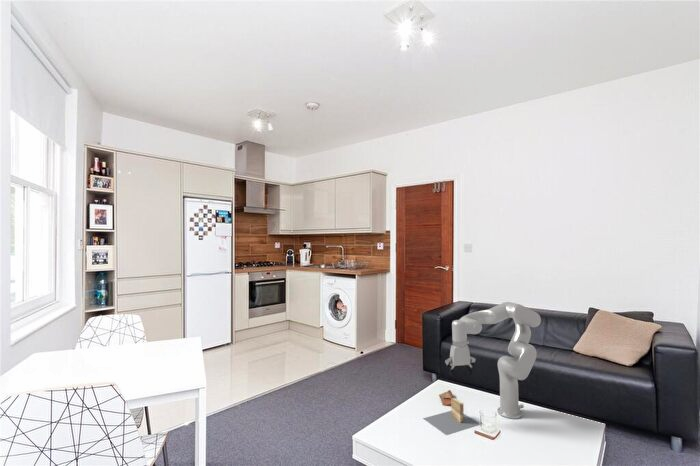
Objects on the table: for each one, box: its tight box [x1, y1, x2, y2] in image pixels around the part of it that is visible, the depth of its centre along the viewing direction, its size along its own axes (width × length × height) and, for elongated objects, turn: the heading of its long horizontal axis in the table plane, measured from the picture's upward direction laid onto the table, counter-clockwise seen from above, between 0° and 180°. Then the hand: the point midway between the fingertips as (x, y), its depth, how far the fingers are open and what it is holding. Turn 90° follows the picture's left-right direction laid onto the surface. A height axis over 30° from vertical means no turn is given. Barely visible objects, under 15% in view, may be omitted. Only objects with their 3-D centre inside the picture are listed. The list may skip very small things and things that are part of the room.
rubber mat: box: [422, 410, 480, 436], centre depth 189 cm, size 24×19×1 cm
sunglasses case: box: [438, 389, 455, 407], centre depth 215 cm, size 18×7×7 cm, turn 174°
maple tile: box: [450, 397, 465, 423], centre depth 191 cm, size 3×7×10 cm, turn 26°
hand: (460, 375), depth 190 cm, fingers open, 9 cm apart
